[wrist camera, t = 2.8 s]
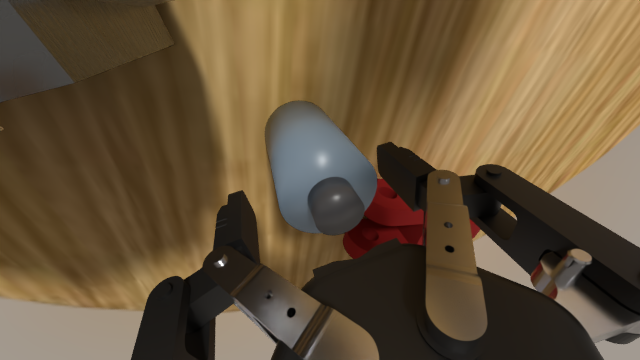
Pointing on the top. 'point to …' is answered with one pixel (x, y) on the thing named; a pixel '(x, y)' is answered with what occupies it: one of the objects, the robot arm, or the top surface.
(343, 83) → the top surface
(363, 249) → the mechanical linkage
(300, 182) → the blue-gray bottle
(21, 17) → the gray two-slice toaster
